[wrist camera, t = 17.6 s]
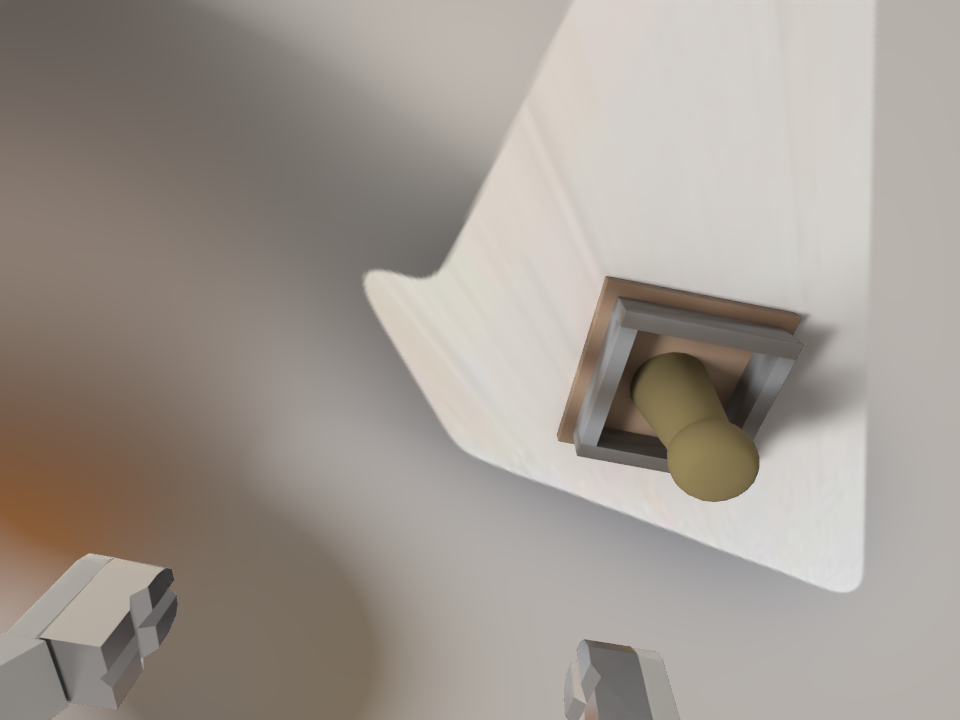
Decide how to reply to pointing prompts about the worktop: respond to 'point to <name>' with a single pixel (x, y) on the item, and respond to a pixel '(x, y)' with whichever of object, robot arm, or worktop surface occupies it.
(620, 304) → the grey-rimmed square tray
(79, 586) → the robot arm
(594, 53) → the worktop surface
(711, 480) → the cork
